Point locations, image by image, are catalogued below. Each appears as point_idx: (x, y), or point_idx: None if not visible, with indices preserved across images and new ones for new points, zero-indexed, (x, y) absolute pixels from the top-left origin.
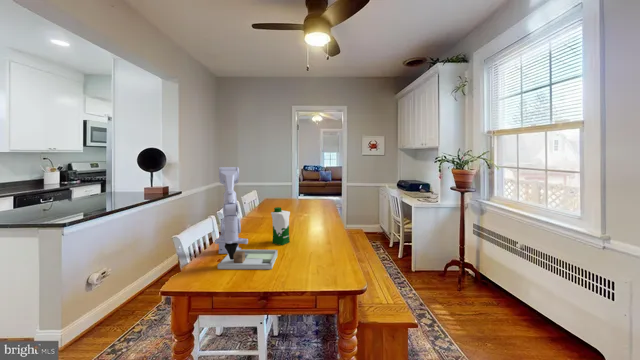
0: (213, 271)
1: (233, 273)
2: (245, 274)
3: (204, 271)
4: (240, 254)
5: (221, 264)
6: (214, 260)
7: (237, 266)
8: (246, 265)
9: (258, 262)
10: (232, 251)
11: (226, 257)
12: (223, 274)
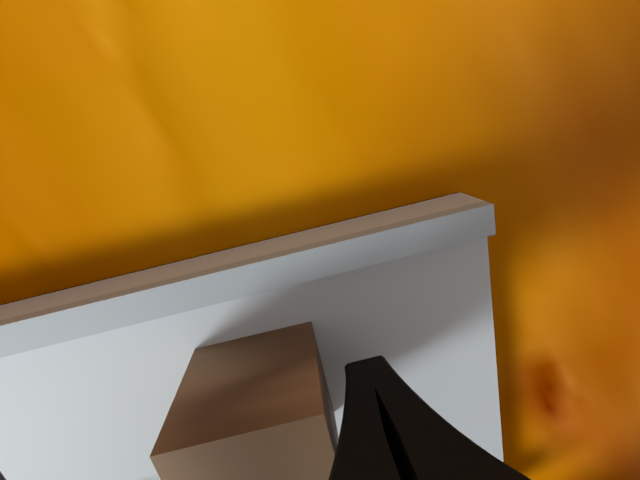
0: (479, 113)
1: (193, 119)
2: (10, 130)
3: (589, 85)
4: (192, 455)
5: (438, 216)
6: (589, 371)
7: (216, 263)
8: (85, 299)
9: (3, 423)
10: (357, 473)
11: (483, 428)
12: (305, 56)
